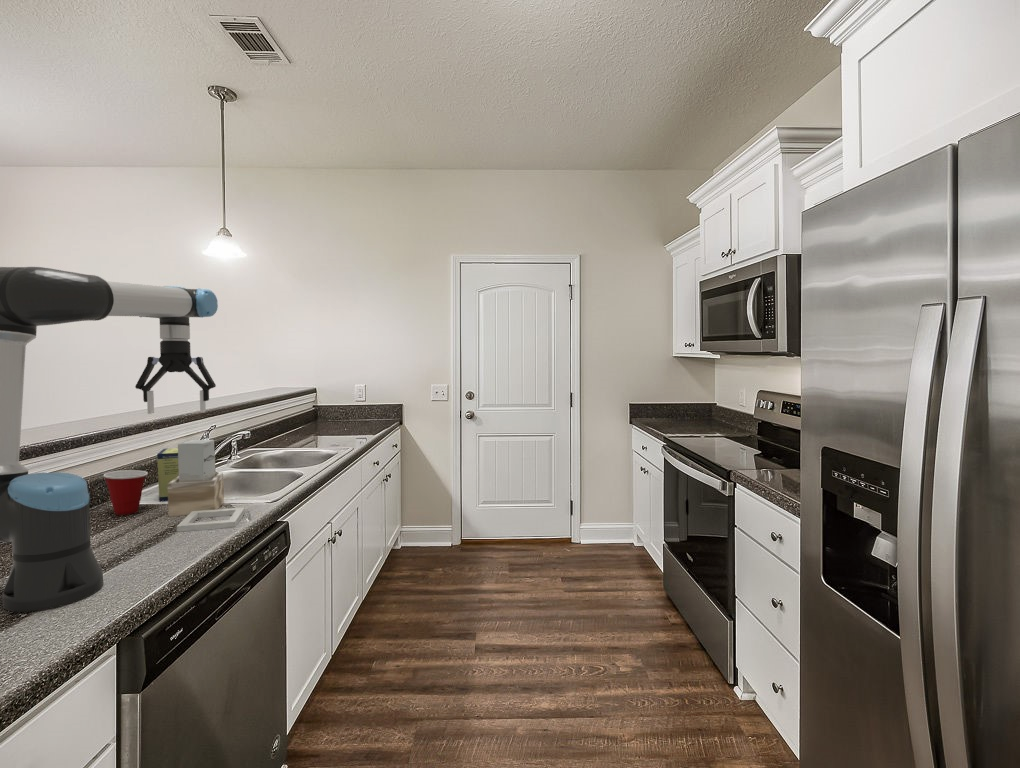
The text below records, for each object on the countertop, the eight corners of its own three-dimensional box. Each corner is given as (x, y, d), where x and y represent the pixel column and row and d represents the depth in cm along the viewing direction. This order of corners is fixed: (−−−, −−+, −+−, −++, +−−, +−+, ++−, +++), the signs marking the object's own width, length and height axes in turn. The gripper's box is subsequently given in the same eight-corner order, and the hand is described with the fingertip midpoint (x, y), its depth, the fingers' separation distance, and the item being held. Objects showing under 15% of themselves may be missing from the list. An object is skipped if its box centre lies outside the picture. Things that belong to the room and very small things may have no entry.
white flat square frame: (235, 527, 147) (235, 521, 147) (176, 531, 143) (176, 526, 143) (244, 512, 160) (244, 507, 160) (191, 516, 157) (191, 511, 156)
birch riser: (214, 512, 160) (213, 481, 159) (168, 516, 157) (167, 483, 156) (224, 502, 172) (223, 472, 171) (181, 505, 168) (180, 474, 168)
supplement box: (203, 485, 160) (202, 443, 159) (178, 485, 160) (176, 443, 159) (216, 479, 167) (215, 439, 167) (191, 480, 167) (190, 439, 166)
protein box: (164, 494, 181) (162, 448, 180) (217, 489, 187) (215, 445, 186) (158, 502, 172) (156, 453, 171) (213, 497, 178) (212, 450, 177)
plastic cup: (145, 515, 158) (143, 474, 157) (100, 519, 154) (98, 477, 153) (153, 505, 168) (151, 467, 167) (111, 509, 164) (109, 470, 163)
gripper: (225, 341, 165) (227, 410, 166) (131, 340, 158) (133, 412, 159) (219, 340, 158) (220, 412, 159) (120, 339, 151) (122, 415, 152)
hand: (177, 412), depth 159 cm, fingers open, 13 cm apart
